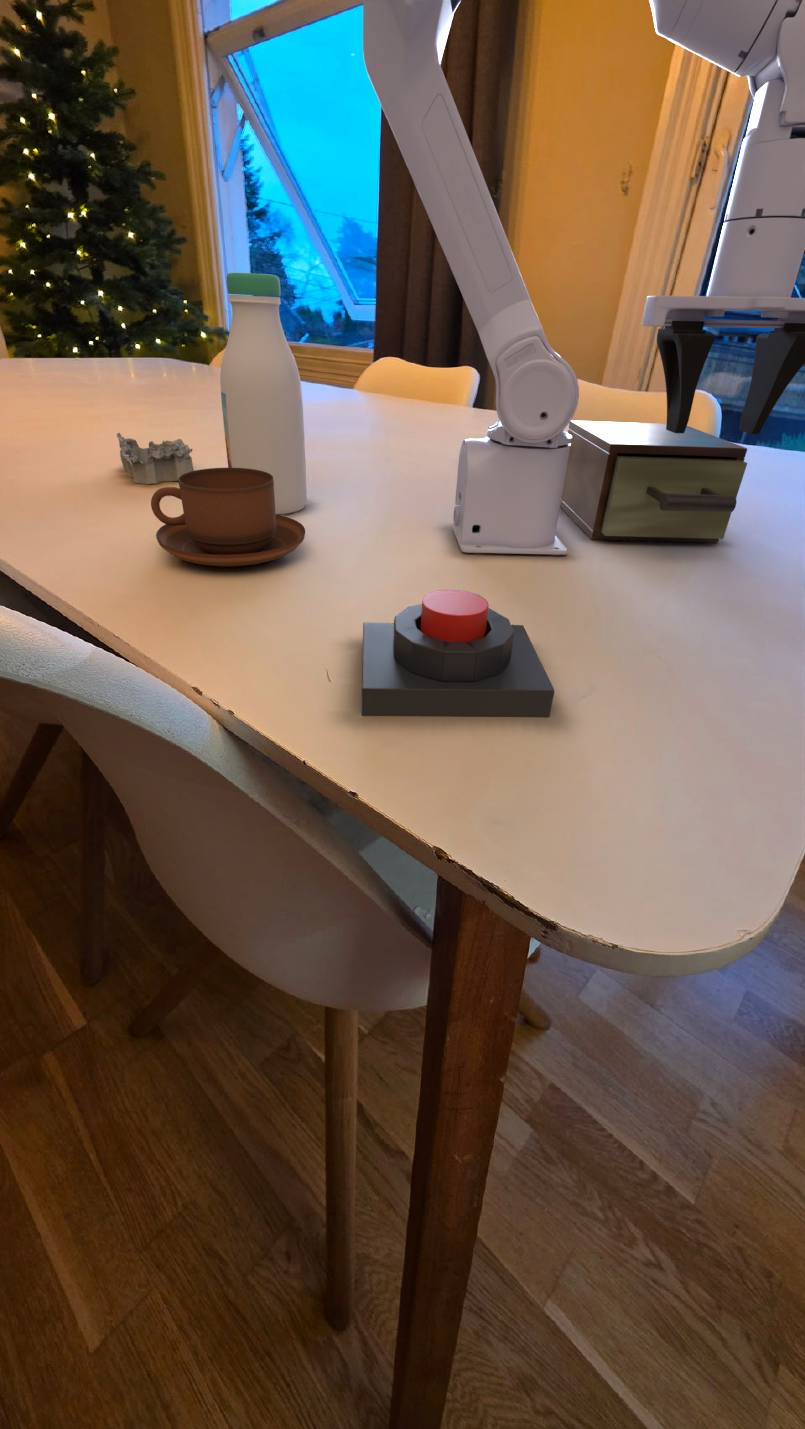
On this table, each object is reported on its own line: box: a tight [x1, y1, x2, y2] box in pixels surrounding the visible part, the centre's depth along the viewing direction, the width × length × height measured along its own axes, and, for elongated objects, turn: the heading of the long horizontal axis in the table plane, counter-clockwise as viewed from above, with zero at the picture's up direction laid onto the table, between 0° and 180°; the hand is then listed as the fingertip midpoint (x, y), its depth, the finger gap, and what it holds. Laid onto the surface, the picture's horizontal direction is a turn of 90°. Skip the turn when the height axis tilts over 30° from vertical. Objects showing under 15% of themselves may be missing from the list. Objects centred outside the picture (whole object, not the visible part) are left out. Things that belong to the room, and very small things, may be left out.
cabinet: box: [560, 420, 748, 544], centre depth 64 cm, size 14×13×9 cm
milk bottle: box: [219, 272, 308, 515], centre depth 60 cm, size 8×8×20 cm
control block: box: [361, 603, 555, 718], centre depth 35 cm, size 10×8×4 cm
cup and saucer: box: [150, 467, 306, 567], centre depth 51 cm, size 12×12×6 cm
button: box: [421, 589, 490, 642], centre depth 34 cm, size 4×4×2 cm
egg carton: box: [116, 432, 195, 485], centre depth 74 cm, size 11×8×4 cm
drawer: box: [601, 454, 748, 540], centre depth 60 cm, size 17×11×7 cm, turn 3°
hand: (711, 432), depth 51 cm, fingers open, 6 cm apart
